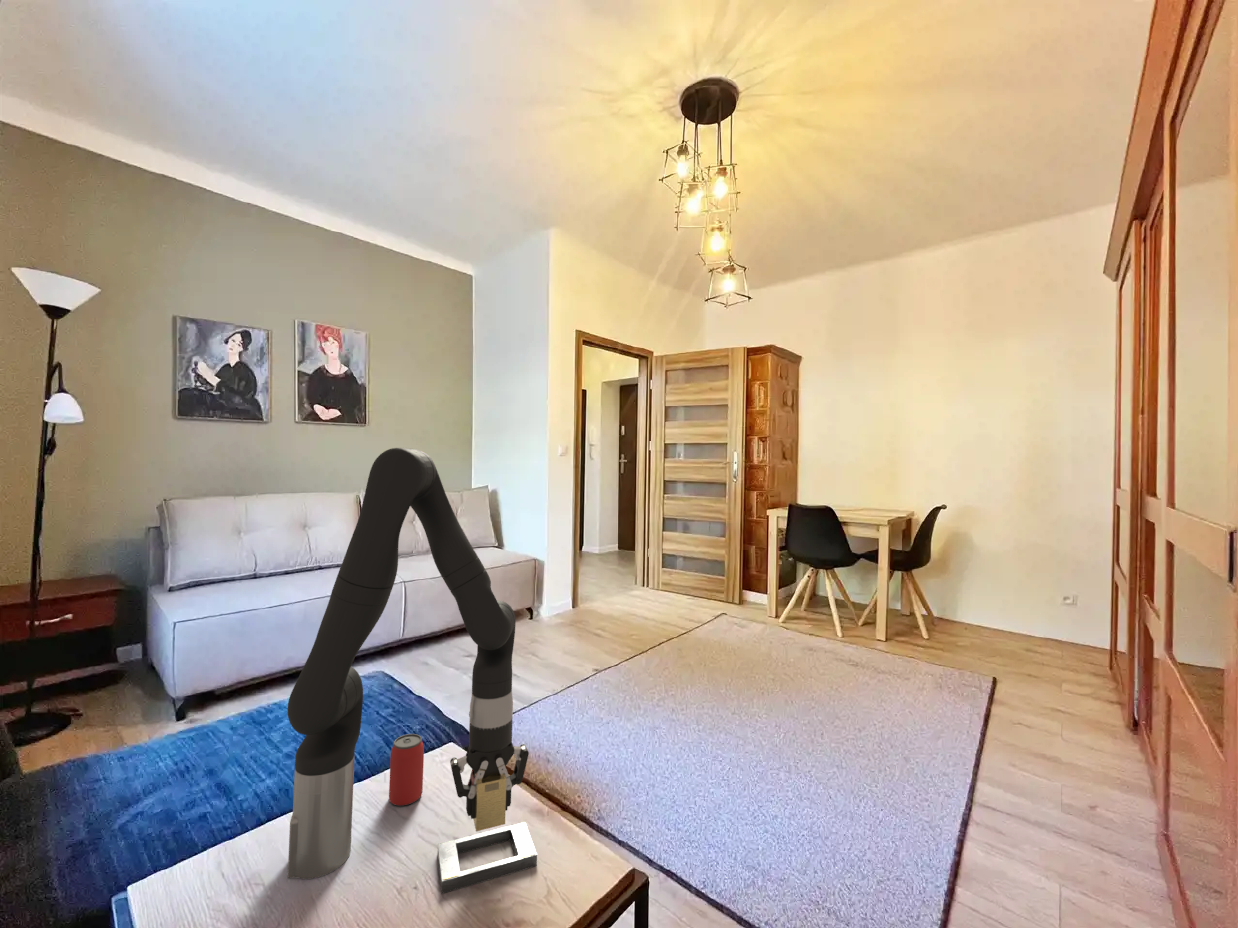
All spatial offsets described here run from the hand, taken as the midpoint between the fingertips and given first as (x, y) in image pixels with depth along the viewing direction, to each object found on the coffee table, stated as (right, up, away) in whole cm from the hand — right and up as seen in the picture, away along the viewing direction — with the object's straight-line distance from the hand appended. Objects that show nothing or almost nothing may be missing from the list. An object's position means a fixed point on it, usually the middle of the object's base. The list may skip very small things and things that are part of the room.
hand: (488, 811), depth 90 cm
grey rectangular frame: (0, -9, 0) cm, 9 cm away
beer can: (-22, -9, +17) cm, 29 cm away
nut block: (0, -1, 0) cm, 1 cm away
